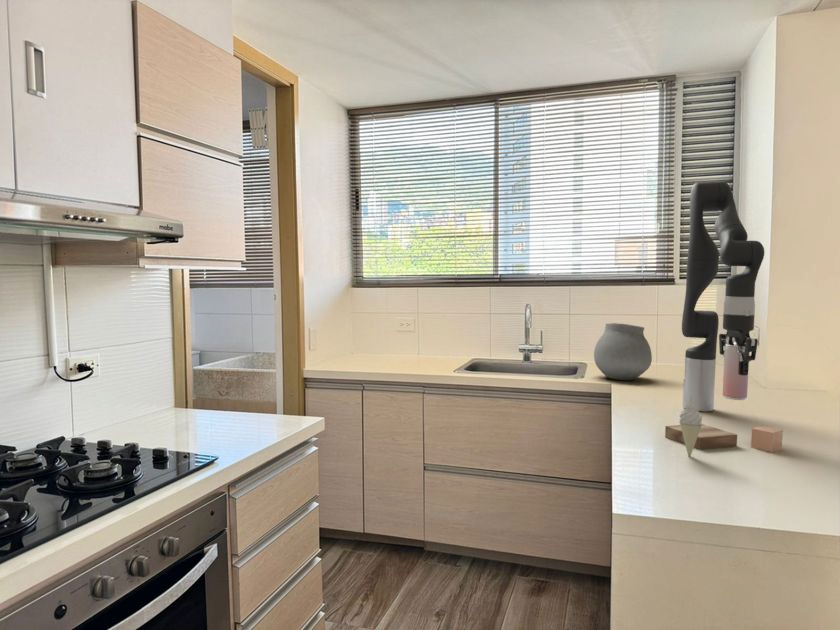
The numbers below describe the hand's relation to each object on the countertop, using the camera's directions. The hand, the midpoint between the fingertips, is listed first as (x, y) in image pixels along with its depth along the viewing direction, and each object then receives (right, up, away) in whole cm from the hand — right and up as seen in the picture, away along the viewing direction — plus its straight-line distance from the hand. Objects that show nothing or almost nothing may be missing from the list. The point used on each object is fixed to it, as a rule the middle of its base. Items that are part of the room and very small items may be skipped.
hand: (735, 372), depth 155 cm
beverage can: (0, -7, +1) cm, 7 cm away
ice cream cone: (-23, -18, -21) cm, 36 cm away
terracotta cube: (0, -18, -13) cm, 22 cm away
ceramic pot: (+2, -13, +94) cm, 95 cm away
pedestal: (-14, -17, -8) cm, 24 cm away
